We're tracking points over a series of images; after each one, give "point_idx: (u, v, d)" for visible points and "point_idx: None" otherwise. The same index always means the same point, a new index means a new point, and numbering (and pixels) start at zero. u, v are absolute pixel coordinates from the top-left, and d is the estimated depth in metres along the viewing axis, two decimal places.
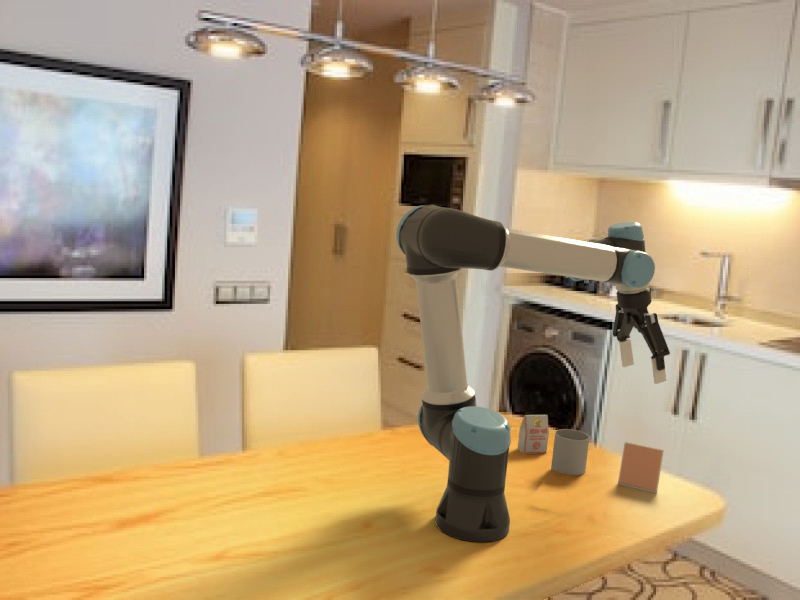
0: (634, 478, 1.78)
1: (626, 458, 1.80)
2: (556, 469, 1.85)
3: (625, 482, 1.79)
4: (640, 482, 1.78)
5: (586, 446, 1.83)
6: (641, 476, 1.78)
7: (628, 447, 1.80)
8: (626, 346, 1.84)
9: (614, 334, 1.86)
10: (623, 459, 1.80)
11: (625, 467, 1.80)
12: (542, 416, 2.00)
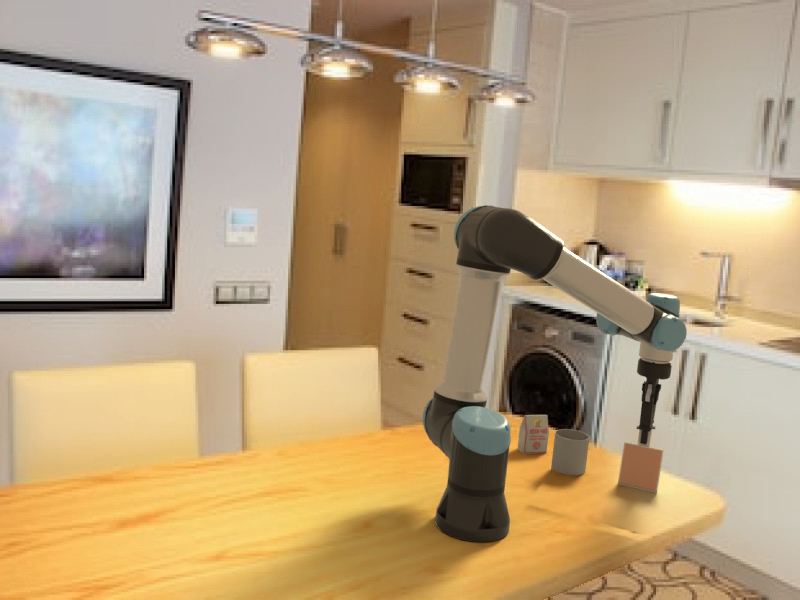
0: (634, 478, 1.78)
1: (626, 458, 1.80)
2: (556, 469, 1.85)
3: (625, 482, 1.79)
4: (640, 482, 1.78)
5: (586, 446, 1.83)
6: (641, 476, 1.78)
7: (628, 447, 1.80)
8: None
9: None
10: (623, 459, 1.80)
11: (625, 467, 1.79)
12: (542, 416, 2.00)
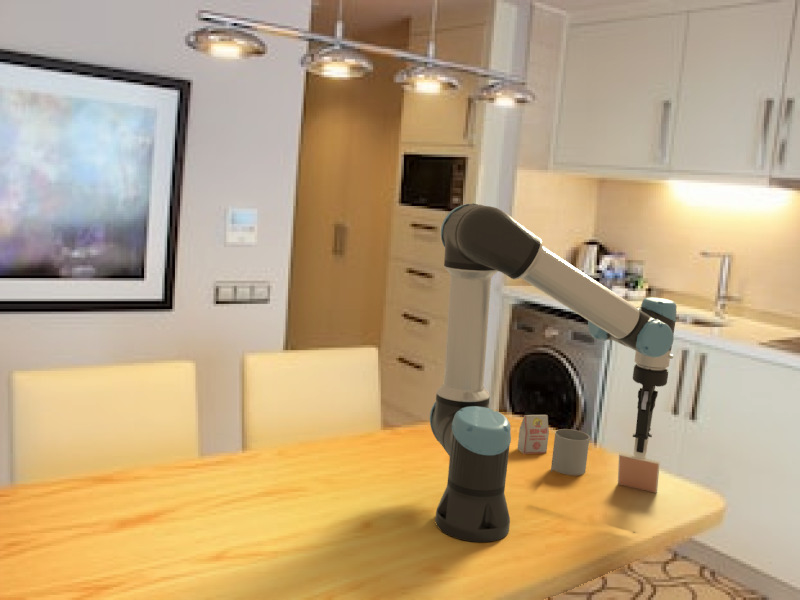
0: (633, 482, 1.77)
1: (622, 466, 1.76)
2: (556, 469, 1.85)
3: (625, 484, 1.79)
4: (639, 485, 1.77)
5: (586, 446, 1.83)
6: (640, 481, 1.76)
7: (623, 459, 1.74)
8: None
9: None
10: (620, 468, 1.76)
11: (623, 473, 1.77)
12: (542, 416, 2.00)
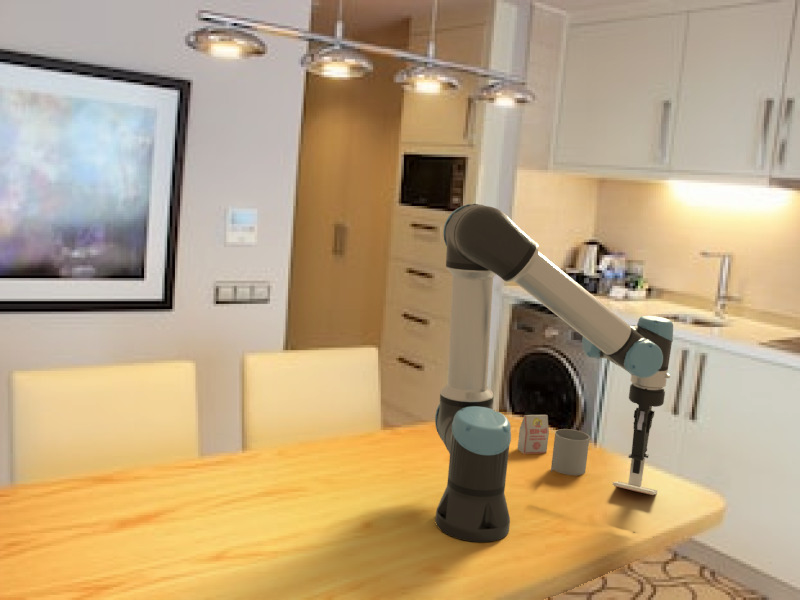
0: None
1: None
2: (556, 469, 1.85)
3: None
4: None
5: (586, 446, 1.83)
6: None
7: (617, 486, 1.72)
8: None
9: None
10: None
11: None
12: (542, 416, 2.00)
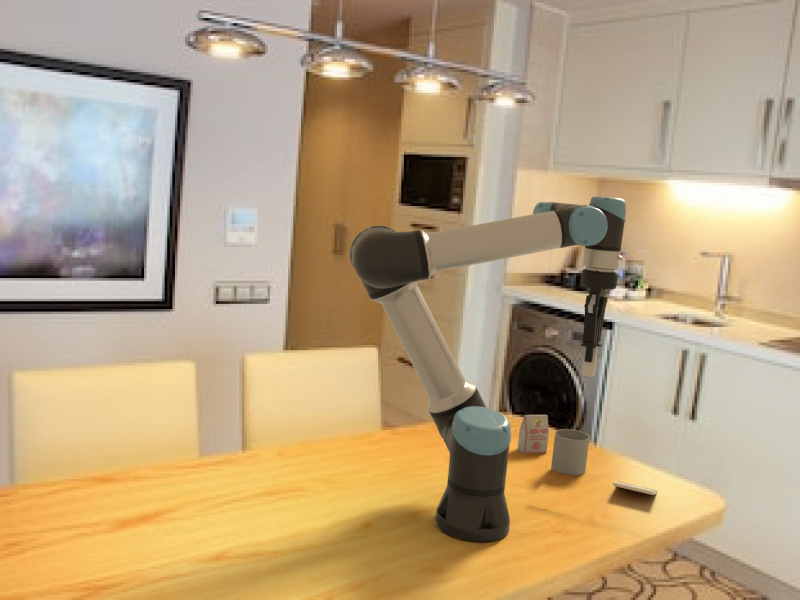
0: None
1: None
2: (556, 469, 1.85)
3: None
4: None
5: (586, 446, 1.83)
6: None
7: (617, 486, 1.72)
8: None
9: None
10: None
11: None
12: (542, 416, 2.00)
